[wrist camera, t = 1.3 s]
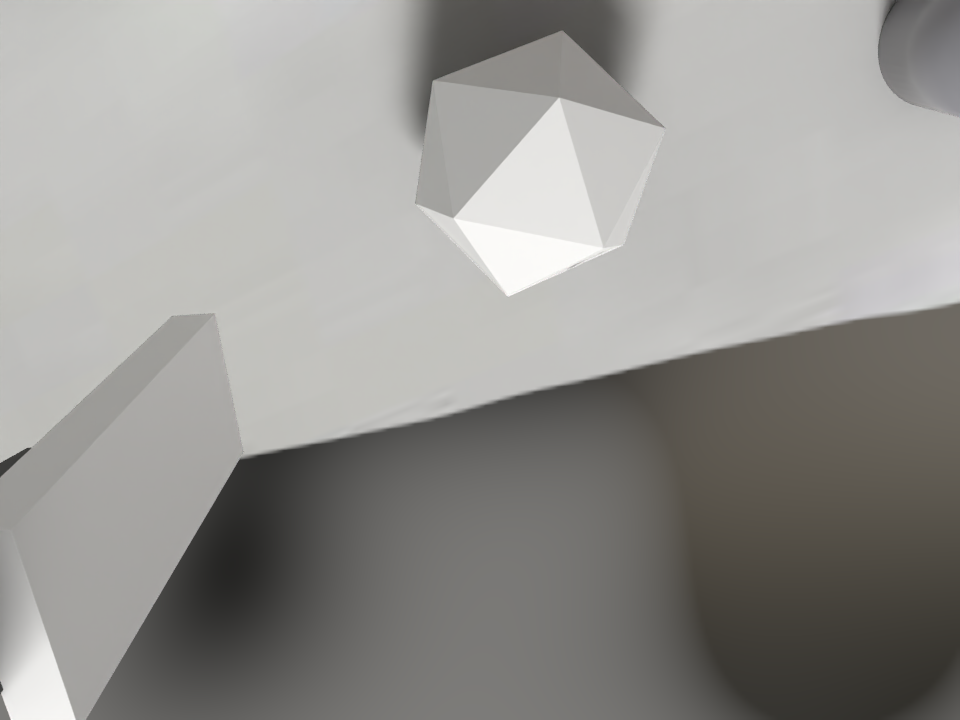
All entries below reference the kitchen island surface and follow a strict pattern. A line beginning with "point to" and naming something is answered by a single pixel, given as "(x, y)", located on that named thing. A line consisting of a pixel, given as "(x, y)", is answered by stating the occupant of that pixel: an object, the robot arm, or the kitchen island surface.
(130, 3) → the kitchen island surface
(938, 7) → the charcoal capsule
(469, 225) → the die
